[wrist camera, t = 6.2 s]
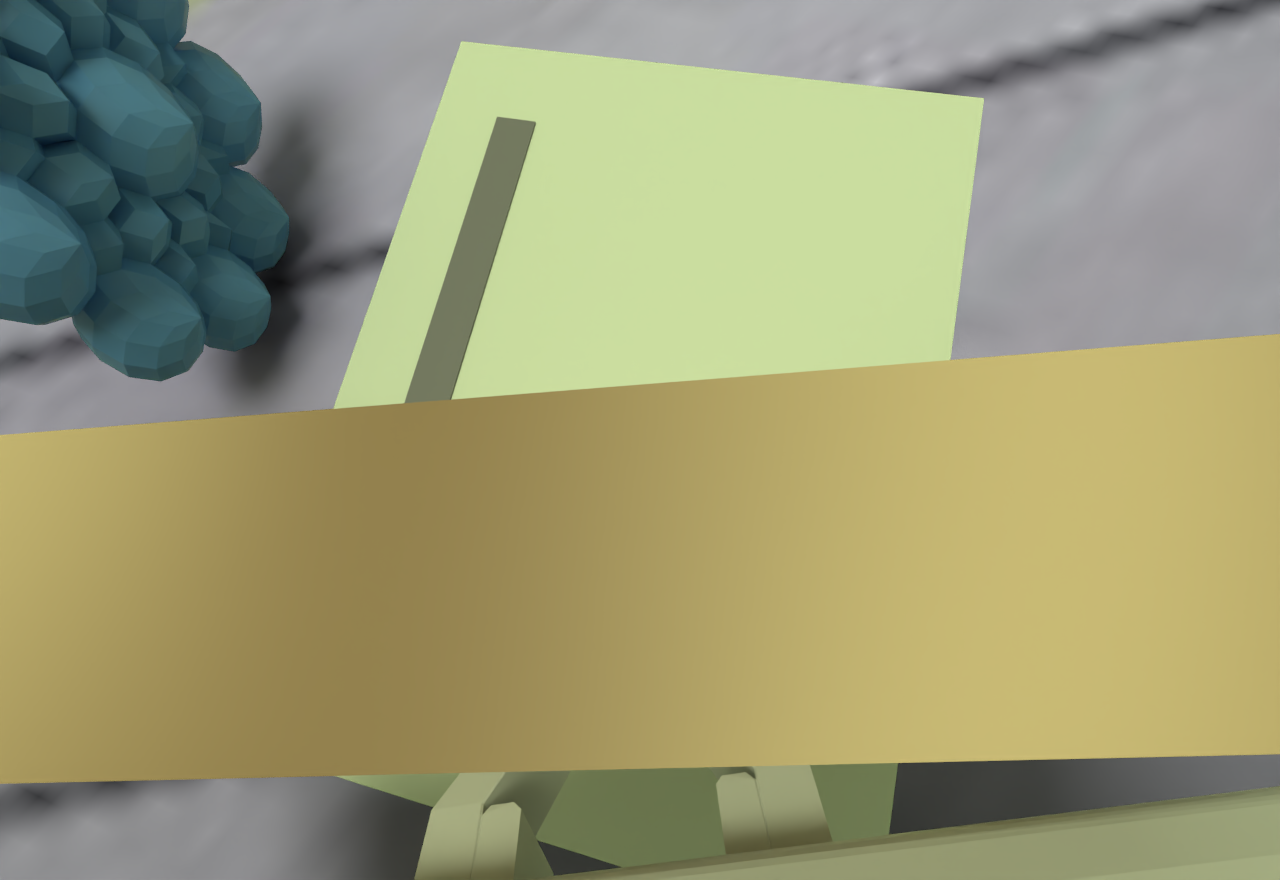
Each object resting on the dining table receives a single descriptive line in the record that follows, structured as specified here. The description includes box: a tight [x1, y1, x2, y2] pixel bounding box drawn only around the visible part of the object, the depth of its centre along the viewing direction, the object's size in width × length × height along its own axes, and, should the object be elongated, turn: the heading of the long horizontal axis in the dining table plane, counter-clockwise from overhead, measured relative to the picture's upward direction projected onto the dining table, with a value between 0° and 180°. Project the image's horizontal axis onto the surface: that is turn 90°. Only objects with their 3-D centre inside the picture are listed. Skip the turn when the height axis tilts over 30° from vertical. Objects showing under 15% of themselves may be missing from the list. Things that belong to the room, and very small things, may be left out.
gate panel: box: [0, 334, 1280, 784], centre depth 9 cm, size 14×2×13 cm, turn 93°
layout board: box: [333, 41, 984, 867], centre depth 17 cm, size 18×24×1 cm
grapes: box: [0, 0, 289, 381], centre depth 14 cm, size 12×7×12 cm, turn 0°
